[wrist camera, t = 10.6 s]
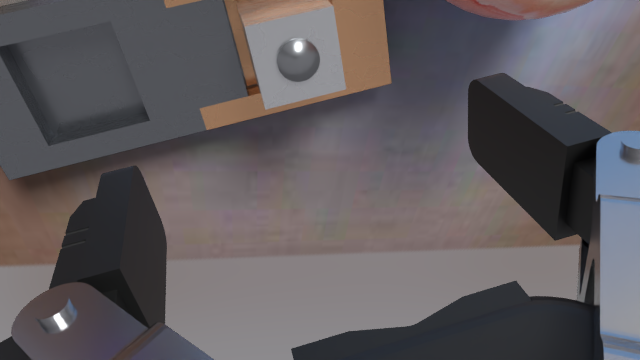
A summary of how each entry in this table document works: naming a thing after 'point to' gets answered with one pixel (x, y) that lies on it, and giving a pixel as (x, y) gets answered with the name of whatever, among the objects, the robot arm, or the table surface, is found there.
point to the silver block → (292, 49)
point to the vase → (518, 8)
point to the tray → (144, 74)
